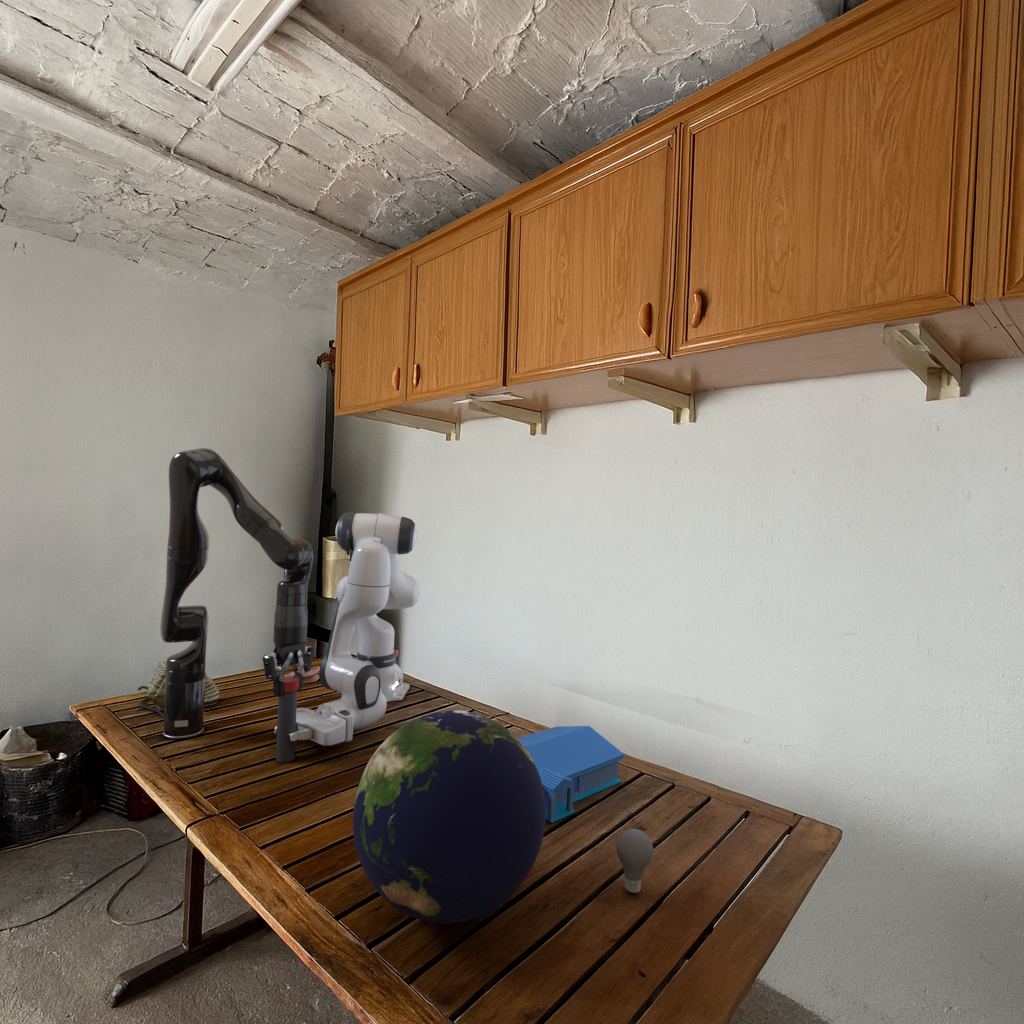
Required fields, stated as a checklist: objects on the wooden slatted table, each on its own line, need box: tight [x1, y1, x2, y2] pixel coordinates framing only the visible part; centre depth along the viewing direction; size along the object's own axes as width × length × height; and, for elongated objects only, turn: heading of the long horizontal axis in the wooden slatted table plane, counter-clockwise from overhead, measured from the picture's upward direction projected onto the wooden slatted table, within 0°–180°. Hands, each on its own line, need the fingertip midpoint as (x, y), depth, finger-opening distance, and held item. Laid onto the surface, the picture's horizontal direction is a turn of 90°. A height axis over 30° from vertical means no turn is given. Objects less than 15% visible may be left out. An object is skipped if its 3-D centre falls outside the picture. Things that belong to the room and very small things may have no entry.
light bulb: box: [615, 828, 654, 894], centre depth 106 cm, size 6×6×10 cm
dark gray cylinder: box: [275, 690, 298, 763], centre depth 152 cm, size 4×4×18 cm
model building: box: [516, 725, 625, 824], centre depth 140 cm, size 39×24×10 cm, turn 132°
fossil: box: [147, 654, 221, 712], centre depth 185 cm, size 9×18×15 cm, turn 132°
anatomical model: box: [284, 665, 320, 684], centre depth 215 cm, size 13×4×12 cm
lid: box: [282, 677, 299, 692], centre depth 152 cm, size 5×5×2 cm
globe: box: [352, 709, 547, 925], centre depth 100 cm, size 30×30×30 cm
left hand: (288, 693), depth 152 cm, fingers closed on lid, 5 cm apart
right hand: (282, 734), depth 151 cm, fingers closed on dark gray cylinder, 4 cm apart
